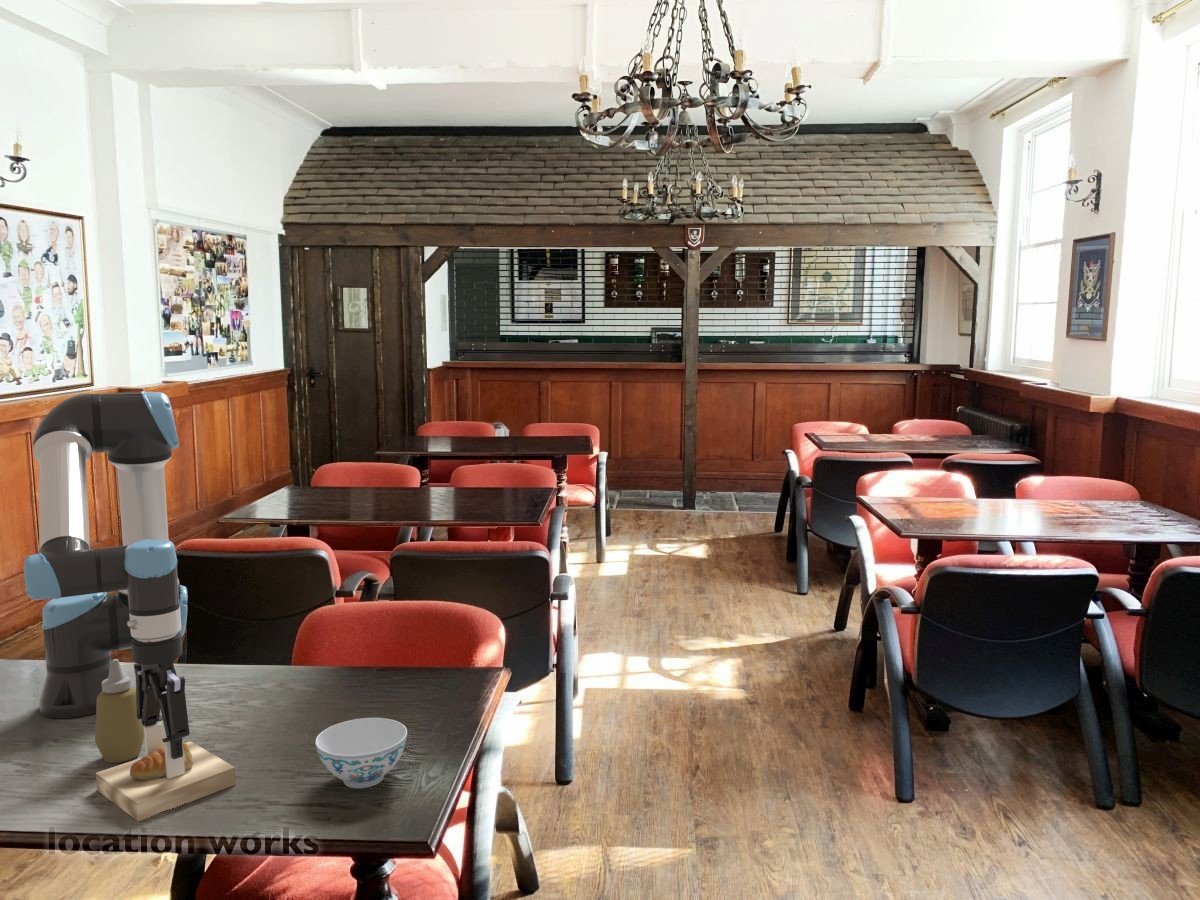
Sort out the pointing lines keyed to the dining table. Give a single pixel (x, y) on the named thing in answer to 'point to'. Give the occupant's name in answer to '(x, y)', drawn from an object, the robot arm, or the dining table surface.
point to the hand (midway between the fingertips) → (165, 768)
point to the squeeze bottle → (118, 718)
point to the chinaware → (361, 749)
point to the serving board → (165, 785)
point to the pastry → (157, 764)
